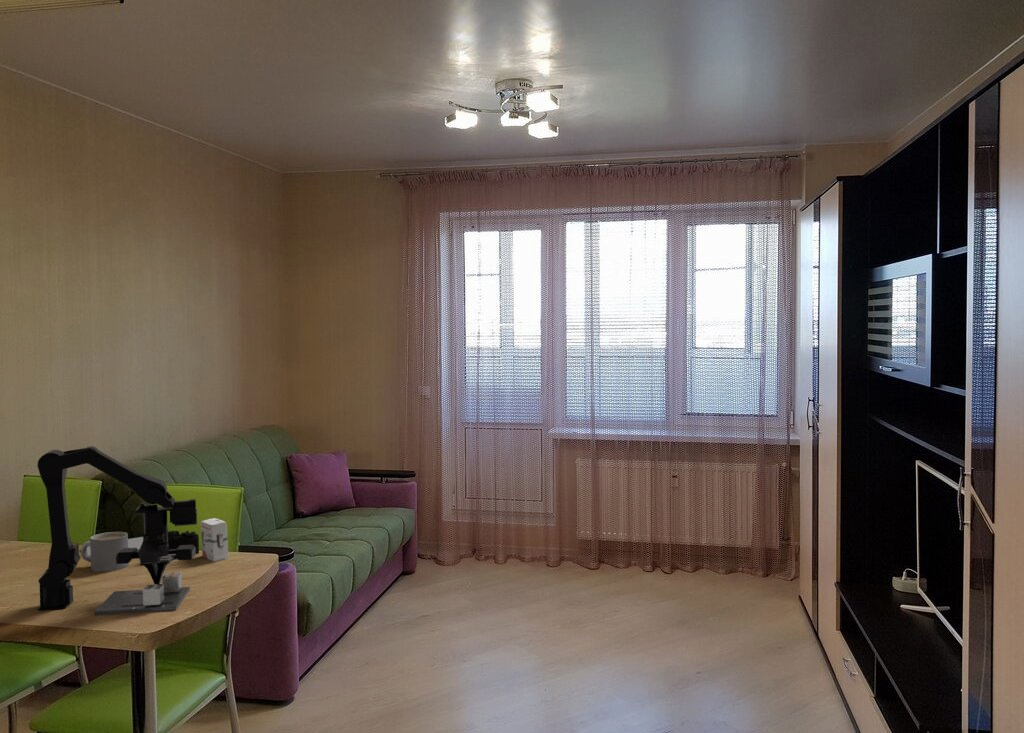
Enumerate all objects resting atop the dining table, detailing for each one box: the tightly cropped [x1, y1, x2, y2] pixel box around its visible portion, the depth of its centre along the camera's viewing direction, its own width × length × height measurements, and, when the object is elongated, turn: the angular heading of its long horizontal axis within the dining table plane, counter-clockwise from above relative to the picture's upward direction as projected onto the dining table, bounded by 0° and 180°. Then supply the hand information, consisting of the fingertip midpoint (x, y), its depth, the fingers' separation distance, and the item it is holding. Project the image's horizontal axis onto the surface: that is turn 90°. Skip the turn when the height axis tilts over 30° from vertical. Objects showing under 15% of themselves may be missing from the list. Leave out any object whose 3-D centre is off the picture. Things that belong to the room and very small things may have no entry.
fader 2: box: [161, 571, 183, 592], centre depth 213 cm, size 4×4×4 cm
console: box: [94, 586, 191, 616], centre depth 207 cm, size 19×16×1 cm
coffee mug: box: [80, 531, 130, 573], centre depth 238 cm, size 13×10×10 cm
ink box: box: [200, 517, 229, 562], centre depth 247 cm, size 9×5×12 cm, turn 45°
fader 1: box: [142, 583, 164, 606], centre depth 203 cm, size 4×4×4 cm
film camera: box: [168, 530, 200, 560], centre depth 249 cm, size 15×10×9 cm, turn 140°
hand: (157, 586), depth 212 cm, fingers closed
